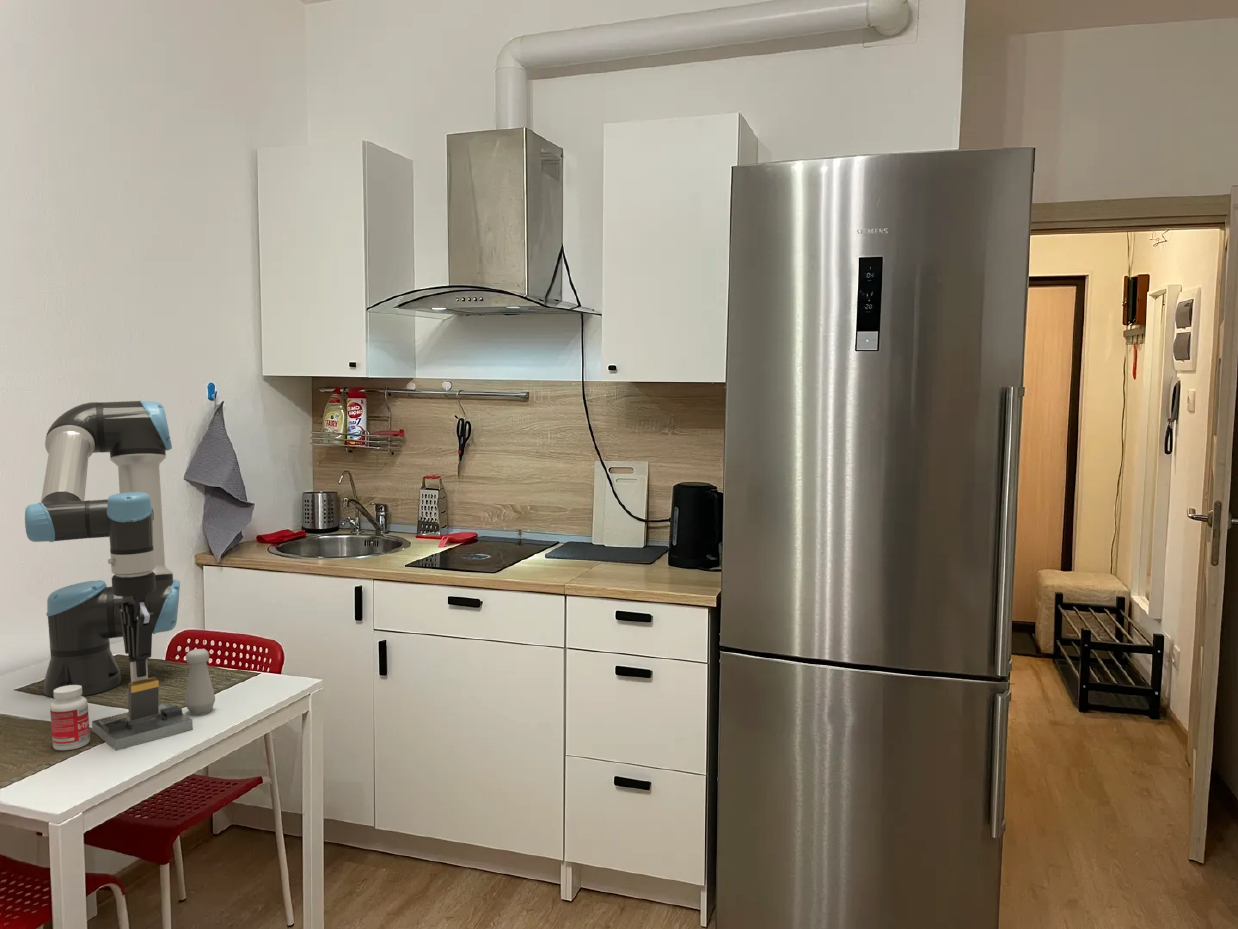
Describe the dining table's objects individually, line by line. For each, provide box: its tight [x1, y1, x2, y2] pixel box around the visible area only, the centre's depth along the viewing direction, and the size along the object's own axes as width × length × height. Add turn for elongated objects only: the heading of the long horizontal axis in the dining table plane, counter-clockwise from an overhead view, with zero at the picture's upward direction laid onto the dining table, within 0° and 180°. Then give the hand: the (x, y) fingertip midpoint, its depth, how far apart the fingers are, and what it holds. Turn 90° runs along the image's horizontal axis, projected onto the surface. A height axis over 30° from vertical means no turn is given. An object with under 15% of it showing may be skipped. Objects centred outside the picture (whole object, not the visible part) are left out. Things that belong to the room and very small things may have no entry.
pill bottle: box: [49, 685, 91, 751], centre depth 179 cm, size 6×6×11 cm
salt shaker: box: [184, 648, 216, 716], centre depth 195 cm, size 6×6×13 cm
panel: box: [91, 702, 194, 751], centre depth 186 cm, size 14×14×3 cm
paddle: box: [126, 676, 161, 724], centre depth 185 cm, size 2×6×8 cm, turn 135°
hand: (140, 691), depth 185 cm, fingers closed
